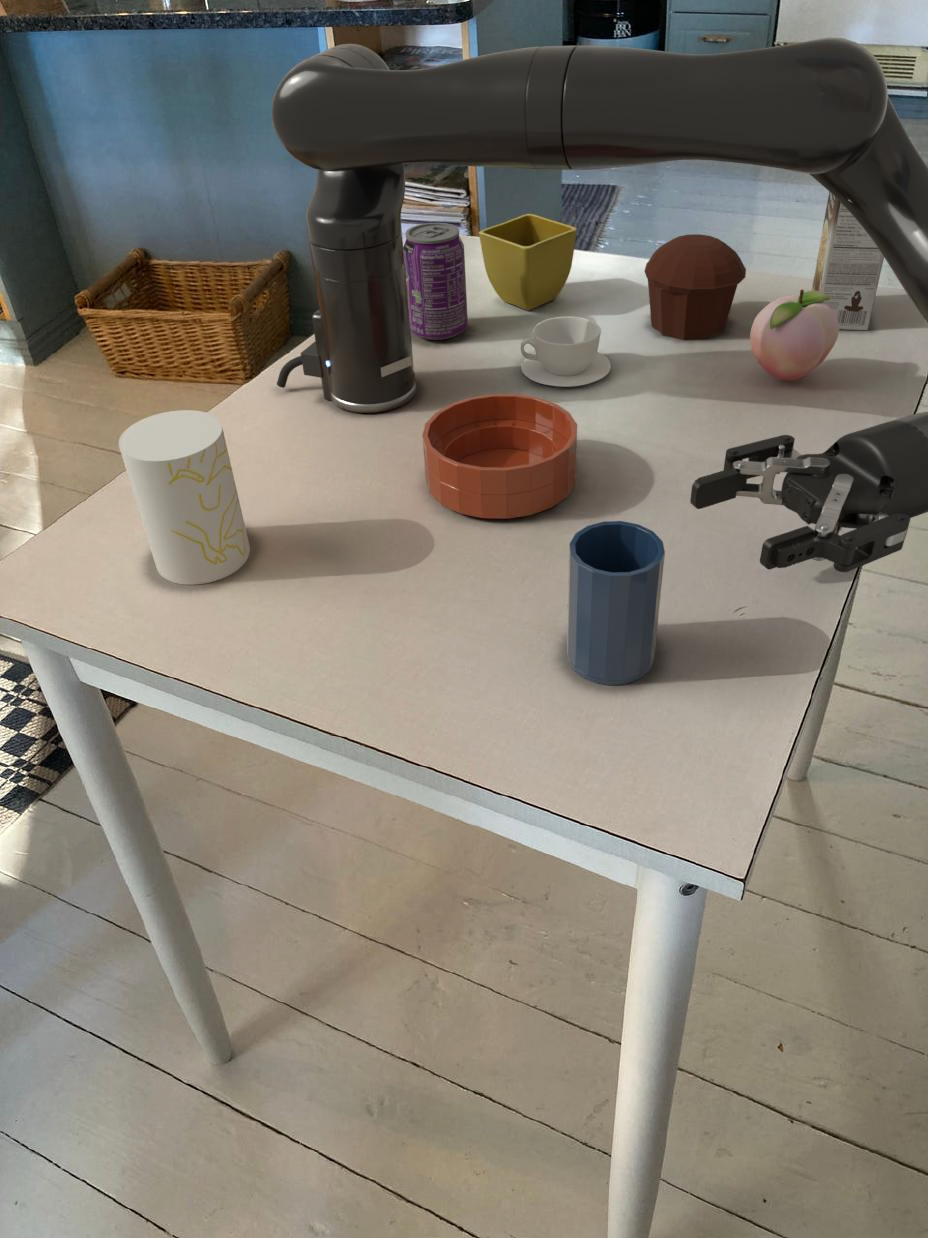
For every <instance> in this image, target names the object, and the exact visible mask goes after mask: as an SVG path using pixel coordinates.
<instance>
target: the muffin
mask: <svg viewBox="0 0 928 1238" xmlns="http://www.w3.org/2000/svg"><path fill="white" fill-rule="evenodd" d="M644 274H645V277H646V278H647V286H648V287H647V288H648V300H649V312H650V313H649V314H650V323H651V324H650V325H651V327H652V328H653V329H655V330H656V331H657V332H658V333H660V335H662V336H665V337H671V338H675V339H679V340H683V341H688V340H708V339H710V338H712V337H714V336H716V335H720V334H723V333H724V332H725V330H726V326H727V323H728V320H729V316H730V312H731V309H732V306H733V302H734V298H735V296H736V291H737V288H738V285H739V284H740V283H742V281H744V280H745V278H746V275H747V268H746V266H745V265H744V263H743V261H742V259H741V257H740V256H739V254H738V252H737V251H735V250H734V248H732V247H731V246H730V245H728V244H727V243H725V242H724V241H722V240H721V239H720V238H717V237H714V236H712V235H707V234H700V233H698V234H693V233H692V234H684V235H679V236H676V237H673V238H672V239H670V240H669V241H667V242H665V243H664V244H662V245H660V246H659V247H658V248H657V249H655V251H654V252H653V253H652V255H651V257H650V258H649V260H648V261H647V262H646V264H645V267H644Z"/></svg>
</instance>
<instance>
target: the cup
mask: <svg viewBox="0 0 928 1238" xmlns="http://www.w3.org/2000/svg"><path fill="white" fill-rule="evenodd" d="M118 447H119V451H120V454H121V457H122V461H123V464H124V466H125V470H126V473H127V476H128V479H129V480H128V481H129V483H130V487H131V490H132V493H133V496H134V500H135V502H136V503H135V504H136V507H137V509H138V512H139V515H140V519H141V522H142V525H143V529H144V532H145V536H146V539H147V541H148V545H149V548H150V552H151V555H152V558H153V561H154V565H155V567H156V568H155V569H156V570H157V572H158V574H159V575H160V576H161V577H162V578H163V579H165V580H166V581H168V582H171V583H174V584H178V585H179V584H180V585H186V586H187V585H189V586H192V585H193V586H195V585H203V584H210V583H213V582H216V581H219V580H222V579H225V578H226V577H228V576H231V575H232V574H234V573H235V572H236V571H238V570H240V569H241V568H242V567H243V566H244V565H245V563H246V562H247V561H248V559H249V556H250V554H251V545H250V542H249V537H248V533H247V529H246V524H245V520H244V517H243V511H242V508H241V503H240V498H239V494H238V490H237V485H236V480H235V476H234V473H233V467H232V463H231V458H230V455H229V449H228V446H227V442H226V436H225V433H224V428H223V424H222V423H221V421H220V419H219V418H218V417H216V416H215V415H213V414H211V413H208V412H205V411H202V410H193V409H192V410H191V409H179V410H170V411H164V412H160V413H156V414H152V415H150V416H147V417H145V418H143V419H140V420H139V421H136V422H135V423H133V424H131V425H130V426H129V427H128V428H126V429H125V430H124V431H123V432H122V434H121V435H120V437H119V439H118Z"/></svg>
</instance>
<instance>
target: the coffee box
mask: <svg viewBox="0 0 928 1238" xmlns="http://www.w3.org/2000/svg"><path fill="white" fill-rule="evenodd" d="M819 243H820V244H819V247H818V252H817V259H816V264H815V269H814V274H813V275H814V276H813V280H812V286H811V291H820V292H823V293H824V294H826V295H827V296H829V298H830V300H825V301H824V302H825V303H826V304H828V305H829V306H830V307H831V308H832V309H833V311H834V312H835V314H836V317H837V319H838V323H839V330H846V331H848V330H849V331H850V330H851V331H869V327H870V322H871V317H872V313H873V310H874V309H873V308H874V304H875V300H876V295H877V290H878V287H879V286H878V285H879V283H880V277H881V274H882V270H883V264H884V260H885V258H884V256H883V255H882V253H881V252H880V250H879V249H878V247H877V246H876V244H875V243H874V241H873V240H872V239H871V237H870V236H869V235H868V233H867V232H866V231H865V229H864V228H863V227H862V226H861V224H860V223H859V222H858V221H857V220H856V218H855V217H854V216H853V215H852V214H851V213H850V212H849V210H848V209H847V208H846V207H845V206H844V205H843V204H842V203H841V202H840V201H839V200H838V199H837V198H836V197H835V196H834V195H833V194H831V193H830V192H829V191H828V196H827V203H826V208H825V214H824V219H823V223H822V231H821V236H820V241H819Z"/></svg>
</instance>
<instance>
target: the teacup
mask: <svg viewBox="0 0 928 1238" xmlns="http://www.w3.org/2000/svg"><path fill="white" fill-rule="evenodd" d="M601 333H602V330H601V326H600V325H599V324H598V323H597V322H596V321H593V320H591V319H589V318H584V317H581V316H580V317H579V316H569V315H568V316H557V317H556V316H555V317H551V318H547V319H544V320H542V321H540V322H538V323H537V324H536V325H534V326H533V328H532V337H526V338H524V339H522V340H521V342H520V353H521V355H522V356H523V358H524V359H523V360H522V362H521V365H520V369H521V373H523V375H524V376H525V377H527V378H528V379H529V380H531V381H533V382H536V383H538V384H542V385H546V386H550V387H551V386H552V387H579V386H584V385H588V384H593V383H595V382H597V381H600V380H601V379H603V378H605V377H606V376H607V375H608V374H609V373H610V371H611V368H612V363H611V362H610V361H611V360H609V358H608V357H606V356H605V355H604V354H603V353H600V352H599V351H598V350H599V345H600V339H601ZM528 344H529V345H530V346H532V348H533V349H534V352H533V353H529V352H526V350H525V346H526V345H528Z"/></svg>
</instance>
